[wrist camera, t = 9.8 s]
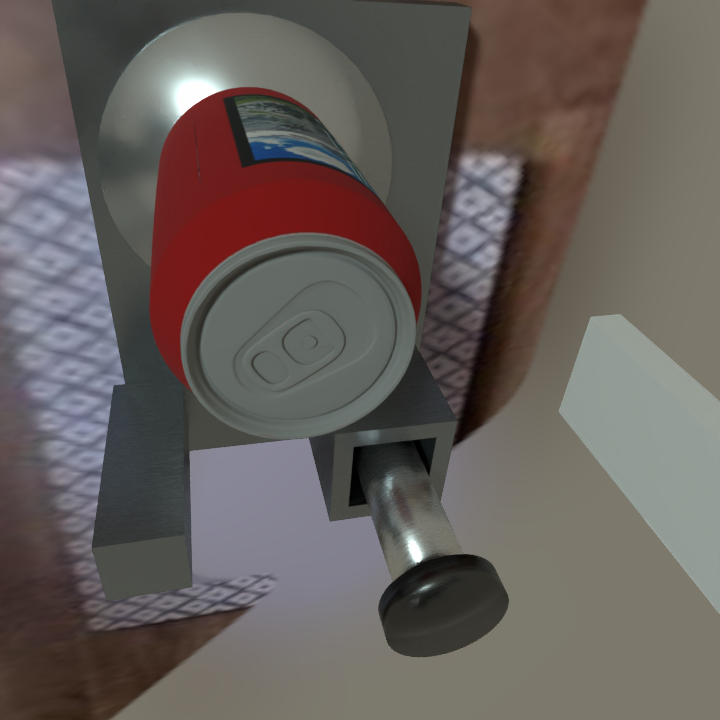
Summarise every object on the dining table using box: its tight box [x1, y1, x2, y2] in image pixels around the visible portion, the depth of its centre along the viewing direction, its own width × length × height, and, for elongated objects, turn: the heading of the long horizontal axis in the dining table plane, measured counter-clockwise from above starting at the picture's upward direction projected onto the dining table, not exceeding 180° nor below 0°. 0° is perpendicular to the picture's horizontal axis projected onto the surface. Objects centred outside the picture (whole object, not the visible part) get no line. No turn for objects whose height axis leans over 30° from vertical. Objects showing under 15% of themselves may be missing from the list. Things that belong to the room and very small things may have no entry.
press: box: [52, 0, 472, 601], centre depth 23 cm, size 14×20×10 cm
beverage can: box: [149, 87, 422, 439], centre depth 18 cm, size 7×7×12 cm
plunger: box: [353, 440, 509, 657], centre depth 24 cm, size 4×4×9 cm
